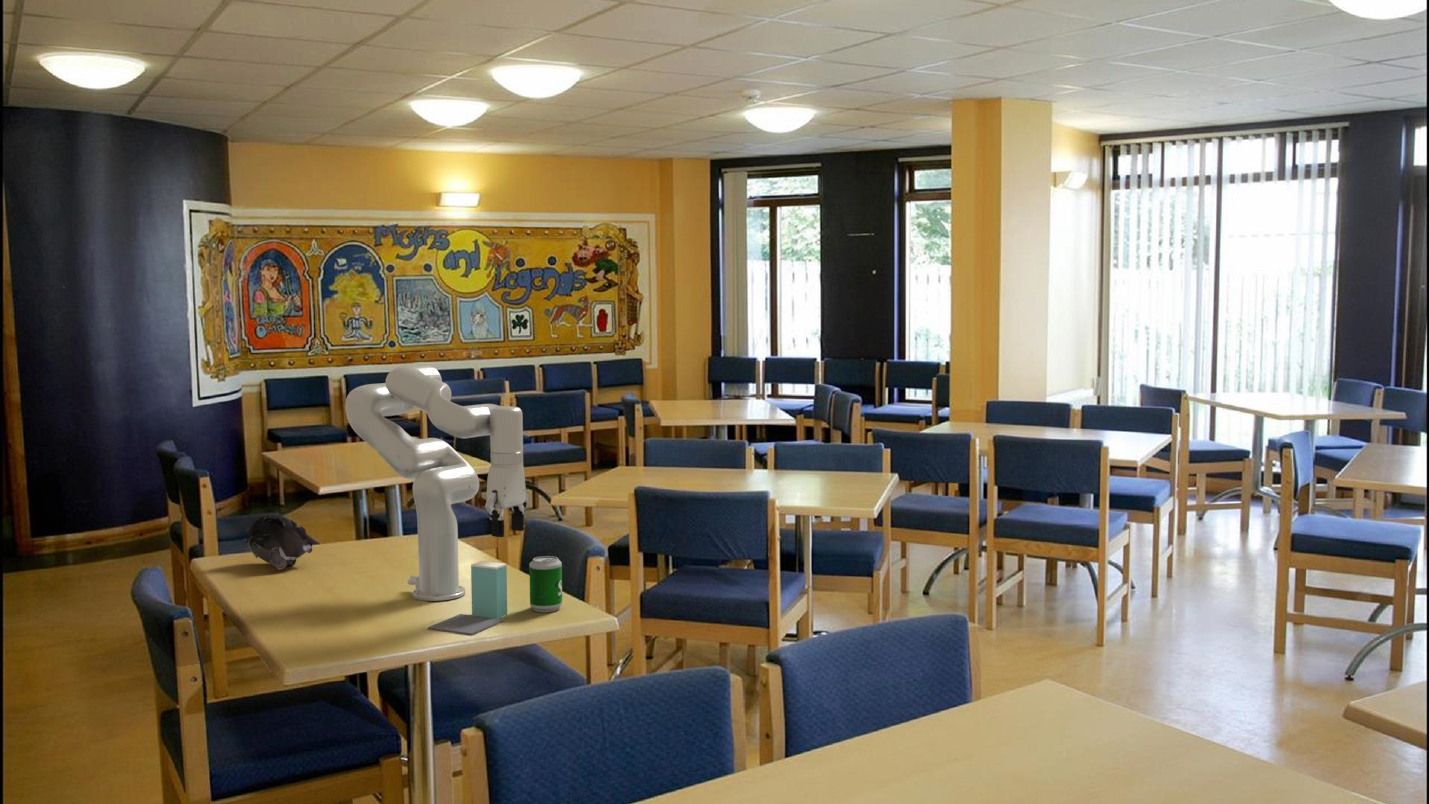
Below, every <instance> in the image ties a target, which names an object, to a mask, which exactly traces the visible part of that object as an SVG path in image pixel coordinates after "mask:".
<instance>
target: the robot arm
mask: <svg viewBox="0 0 1429 804" xmlns="http://www.w3.org/2000/svg"><path fill="white" fill-rule="evenodd" d="M451 400H452V390H451V388H450V386H449V384H447V383H446V382H444V381H443V379H442V376H441V374H440V372H439V371H438V369H437V368H435V367H434V366H432V365H429V364H412V365H409V364H407V365H402V366H401V365H400V366H397V367H395V368H393V369H391V370H390V371H389V372H388V373H387V376H386V378H385V382H383V383H370V384H363V385H360V386H357V387H355V388H353V389H352V390H350V392H349V393H348V394H347V397H346V399H345V404H344V405H345V415H346V418H347V421H348V423H349V426H351V428H352V429H353V431H354V432H355V434H357V436H359V438H361V440H363V441H364V442H366V444H367V445H369V446H370V447H371V448H372V449H373V450H374V451H375V452H376V453H377V454H378V455H379V456H380V457H381V458H382V459H383V460H384V461H385V462H386V463H387V465H389V466H390V468H392V469H393V471H395V472H396V473H397V474H398V475H399V476H400V477H401V478H404V479H408V480H412V479H414V480H413V482H412V483H413V484H412V495H413V500H414V501H413V502H414V504H415V510H416V520H417V544H418V545H417V546H418V547H417V548H418V549H417V550H418V553H417V555H418V575H415V574H412V575H410V577H409V579H408V580H407V584H408V585H410V586H411V585H412V586H415V589H414V590H413V591H412V597H413V598H414V599H416V600H420V601H427V602H428V601H429V602H438V601H439V602H440V601H450V600H455V599H458V598H460V597H463V596H465V594H466V588H465V587H464V586H463V585H462V586H461V585H460V582H459V578H460V577H459V573H460V572H459V532H458V531H459V530H458V528H459V527H458V521H457V517H456V515H455V512H454V510H453V509H452V505H453V504H458V503H463V502H466V501H469V500H472V499H473V498H474V497H475V496H476V495H477V493H478V492H479V489H480V479H479V476H478V474H477V472H476V471H475V469H474V468H473V467H472V465H471V464H470V463H469V462H467V460H466V459H465V458H464V457H462V455H460V453H458V452H457V450H455V449H454V448H453V446H452V445H450V444H449V443H448V442H446V441H445V440H443V439H440V438H436V437H428V438H427V437H426V438H414V437H413V436H411V435H410V434H409V433H408V432H406V431H405V430H404V429H403V428H402V427H401V426H400V425H399V424H397V423H396V422H394V421H392V420H390V419H388V418H386V417H392V416H400V415H404V414H406V413H409V412H410V411H412V410H415V409H417V410H418V411H422V412H423V413H426V414H427V417H428V419H429V420H430V422H431V423H432V425H433V426H435V428H437V429H438V430H440V431H442V432H444V433H447V434H449V435H450V436H453V437H455V438H459V439H470V438H478V437H485V436H489V437H490V438H489V439H490V442H489V444H490V448H489V449H490V466H489V469H488V474H487V482H486V503H485V505H484V508H485V510H486V512H487V515H488V516H489V520H490V521H491V536H492V537H496V538H504V537H505V520H504V519H503V517H504V514H505V511H506V510H507V509H511V510H512V513H511V515H510V516H511V517H510V520H511V531H518V532H519V531H520V532H522V531H524V530H525V515H524V514H526V506H527V504H528V503H527V502H528V500H529V497H530V495H529V493H528V492H527V490H526V488H527V487H526V476H525V467H524V427H523V422H524V421H523V419H524V417H523V411H522V409H521V408H520V407H518V406H511V405H509V406H507V405H505V406H502V405H498V404H494V403H481V404H472V405H471V404H470V405H464V406H463V405H460V404H457V403H454V402H452V401H451Z"/></svg>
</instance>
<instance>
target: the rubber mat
mask: <svg viewBox="0 0 1429 804" xmlns="http://www.w3.org/2000/svg"><path fill="white" fill-rule="evenodd" d="M503 622H505V619H502V618H499V619H496V618H488V617H481V616H474V615H472V614H466V613H465V614H463V613H459V614H457V615H455V616H451V617H449V618H447V619H445V620H441V621H439V622H437V623H435V624H432V625H430V626H427V630H433V631H440V632H446V633H447V632H448V633H455V634H460V635H461V634H462V635H468V636H474V635H477V634H479V633H481V632H483V631H485V630H488V629H489V628H490V629H491V628H492V627H495V626H497V625H499V624H501V623H503Z"/></svg>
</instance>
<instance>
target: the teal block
mask: <svg viewBox="0 0 1429 804" xmlns="http://www.w3.org/2000/svg"><path fill="white" fill-rule="evenodd" d="M507 567H508V566H507V563H503V562H495V561H494V562H493V561H484V560H481V561H477V562H475V563H472V564H470V574H471V576H470V577H471V578H470V581H471V583H470V584H471V586H470V587H471V590H470V591H471V615H474V616H481V617H488V618H496V619H502V618H503V617H506V616H508V577H507V576H508V574H507V573H508V572H507Z"/></svg>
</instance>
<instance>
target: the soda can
mask: <svg viewBox="0 0 1429 804" xmlns="http://www.w3.org/2000/svg"><path fill="white" fill-rule="evenodd" d="M528 566H529V605H530V608H532V609H533V611H535V612H538V613H551V612H556V611H558V610H559V609H560V607H561V606H562V605H563V572H562V571H563V565H562V561H561V560H560V559H559V558H558V557H557V556H553V555H552V556H550V555H546V556H545V555H544V556H536V557H534V558H533V559H532V561H531V562H529V565H528Z"/></svg>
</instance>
